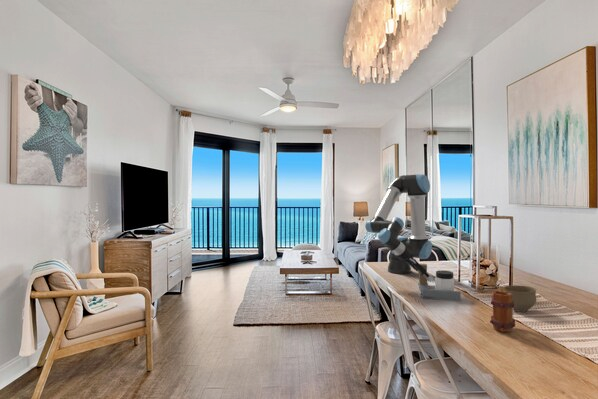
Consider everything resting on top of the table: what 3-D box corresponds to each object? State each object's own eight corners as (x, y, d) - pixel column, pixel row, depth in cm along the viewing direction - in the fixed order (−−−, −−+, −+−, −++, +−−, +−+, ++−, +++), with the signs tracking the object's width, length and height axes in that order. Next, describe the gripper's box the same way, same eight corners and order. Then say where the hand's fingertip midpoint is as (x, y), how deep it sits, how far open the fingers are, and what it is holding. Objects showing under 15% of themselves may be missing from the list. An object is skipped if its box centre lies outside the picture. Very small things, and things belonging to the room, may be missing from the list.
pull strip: (418, 284, 191) (417, 263, 190) (451, 286, 186) (450, 264, 186) (422, 298, 166) (421, 274, 165) (460, 300, 161) (460, 275, 161)
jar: (449, 299, 163) (449, 275, 163) (433, 295, 169) (432, 272, 169) (456, 295, 170) (456, 271, 170) (440, 292, 176) (440, 269, 175)
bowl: (506, 303, 156) (506, 282, 155) (539, 309, 146) (539, 287, 146) (498, 310, 147) (498, 287, 147) (533, 317, 138) (532, 293, 138)
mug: (515, 336, 120) (515, 295, 119) (489, 332, 124) (489, 292, 124) (515, 323, 132) (514, 285, 132) (491, 319, 136) (490, 283, 136)
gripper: (390, 253, 196) (417, 279, 197) (402, 259, 177) (432, 288, 179) (399, 243, 196) (426, 270, 198) (412, 248, 178) (441, 278, 179)
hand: (429, 278), depth 188 cm, fingers closed on pull strip, 5 cm apart
